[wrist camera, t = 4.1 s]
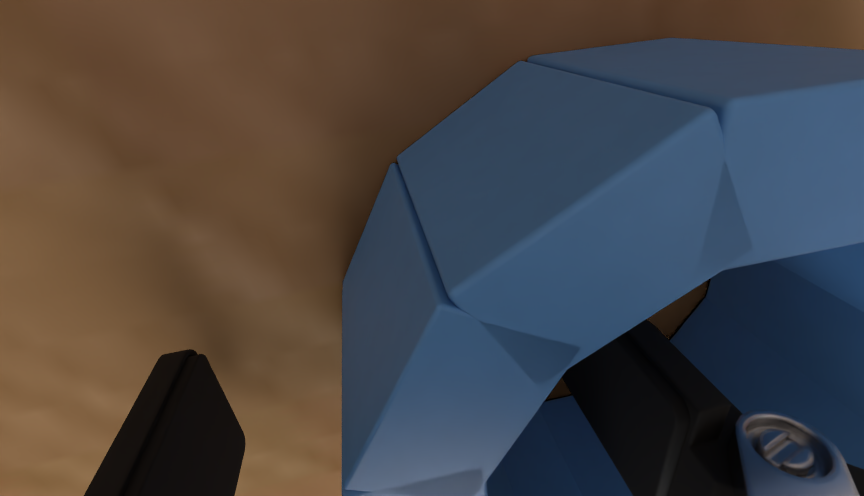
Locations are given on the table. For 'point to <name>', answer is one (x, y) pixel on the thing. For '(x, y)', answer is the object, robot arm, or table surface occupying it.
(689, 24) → the table surface
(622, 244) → the tape
